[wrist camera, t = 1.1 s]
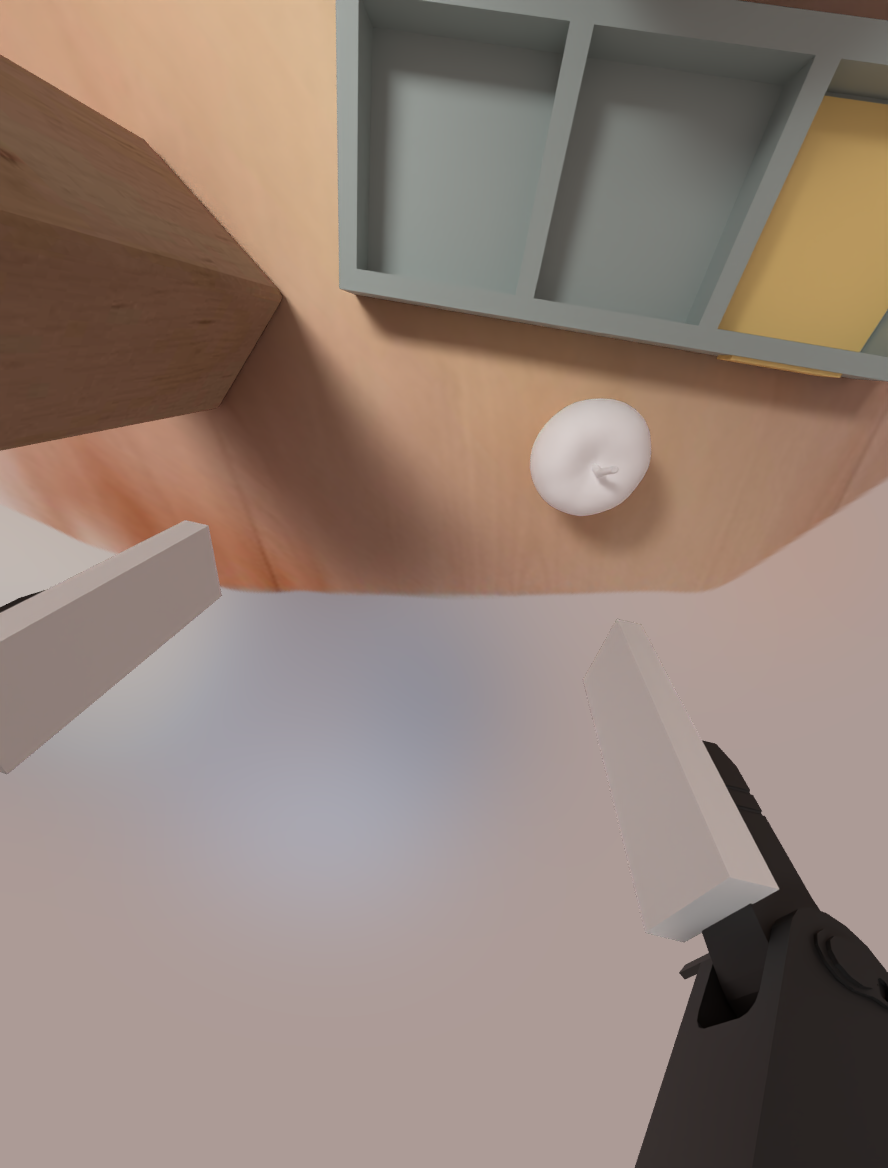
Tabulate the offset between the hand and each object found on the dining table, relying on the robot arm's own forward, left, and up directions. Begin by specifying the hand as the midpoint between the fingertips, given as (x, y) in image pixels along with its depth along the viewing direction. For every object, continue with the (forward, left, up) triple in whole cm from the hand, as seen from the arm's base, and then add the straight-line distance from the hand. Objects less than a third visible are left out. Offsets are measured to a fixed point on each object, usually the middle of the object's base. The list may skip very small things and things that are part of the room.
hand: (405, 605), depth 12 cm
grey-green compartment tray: (-14, +7, -19) cm, 25 cm away
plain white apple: (-2, +8, -19) cm, 21 cm away
